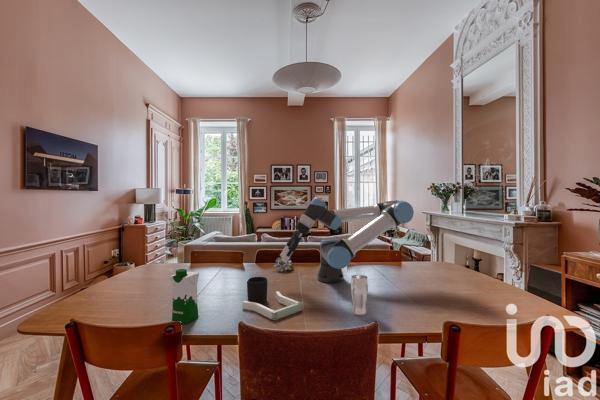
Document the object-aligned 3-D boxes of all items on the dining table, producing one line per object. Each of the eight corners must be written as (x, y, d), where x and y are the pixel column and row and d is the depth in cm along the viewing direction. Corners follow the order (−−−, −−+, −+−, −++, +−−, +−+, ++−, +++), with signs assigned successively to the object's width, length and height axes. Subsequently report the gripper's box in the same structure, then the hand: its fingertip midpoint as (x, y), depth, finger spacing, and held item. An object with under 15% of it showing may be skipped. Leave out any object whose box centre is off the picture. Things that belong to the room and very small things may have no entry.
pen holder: (271, 300, 135) (271, 279, 135) (255, 306, 128) (255, 283, 128) (258, 296, 142) (258, 275, 142) (242, 301, 135) (242, 279, 135)
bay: (241, 308, 126) (241, 301, 126) (277, 297, 140) (277, 291, 140) (268, 322, 112) (268, 314, 112) (305, 308, 126) (305, 301, 126)
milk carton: (168, 322, 112) (167, 270, 112) (184, 313, 121) (184, 265, 121) (186, 325, 110) (186, 272, 109) (202, 316, 118) (201, 267, 118)
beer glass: (349, 309, 124) (349, 274, 124) (365, 309, 125) (365, 274, 125) (353, 316, 117) (353, 279, 117) (370, 315, 118) (370, 278, 118)
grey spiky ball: (281, 280, 187) (270, 265, 185) (283, 272, 198) (272, 258, 196) (296, 270, 186) (285, 256, 184) (296, 263, 197) (286, 249, 195)
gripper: (296, 219, 165) (275, 251, 164) (301, 222, 141) (277, 259, 139) (307, 226, 166) (286, 258, 164) (314, 230, 141) (291, 267, 140)
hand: (282, 259), depth 152 cm, fingers open, 13 cm apart
